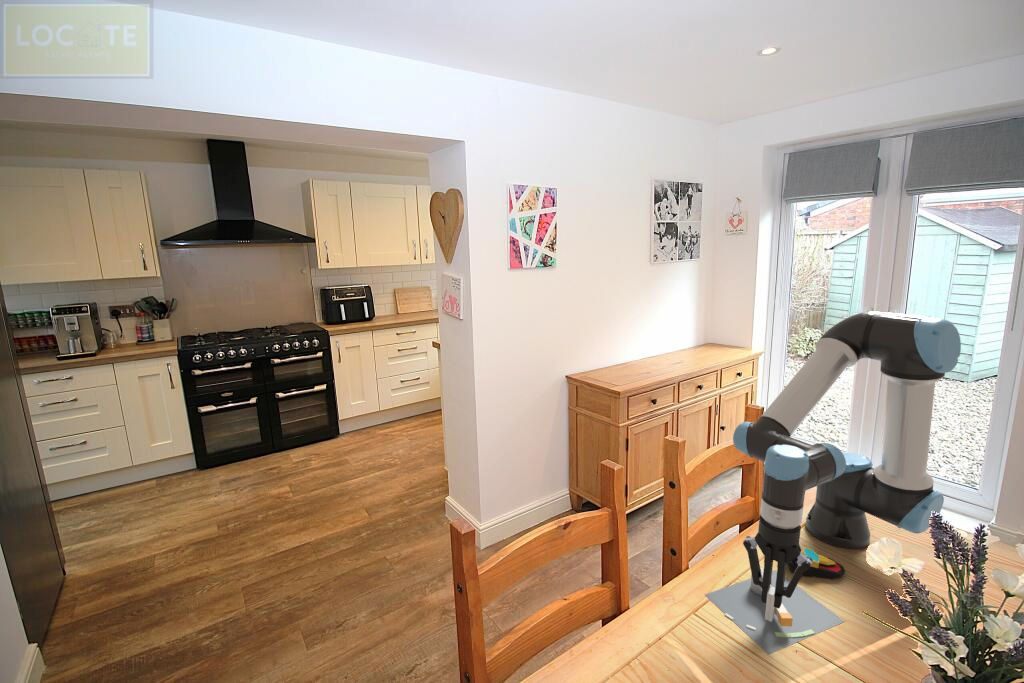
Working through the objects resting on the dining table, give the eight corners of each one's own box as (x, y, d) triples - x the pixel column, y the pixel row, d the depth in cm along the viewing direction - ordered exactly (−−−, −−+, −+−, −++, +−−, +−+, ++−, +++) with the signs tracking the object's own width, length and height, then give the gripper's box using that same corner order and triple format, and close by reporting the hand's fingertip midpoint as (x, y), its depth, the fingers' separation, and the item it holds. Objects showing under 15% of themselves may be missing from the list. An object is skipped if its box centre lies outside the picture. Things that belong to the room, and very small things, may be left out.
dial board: (774, 574, 122) (775, 569, 122) (844, 626, 106) (845, 620, 105) (703, 599, 115) (703, 594, 114) (766, 659, 98) (766, 653, 98)
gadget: (844, 591, 117) (851, 572, 116) (784, 575, 120) (790, 556, 119) (835, 573, 123) (841, 555, 122) (778, 559, 126) (783, 540, 125)
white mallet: (747, 582, 117) (748, 568, 117) (766, 583, 117) (767, 568, 116) (775, 632, 103) (776, 615, 102) (796, 632, 102) (798, 616, 102)
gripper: (741, 516, 101) (733, 612, 107) (813, 540, 93) (800, 643, 99) (751, 501, 107) (742, 593, 112) (819, 522, 99) (807, 620, 104)
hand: (769, 616), depth 105 cm, fingers closed
